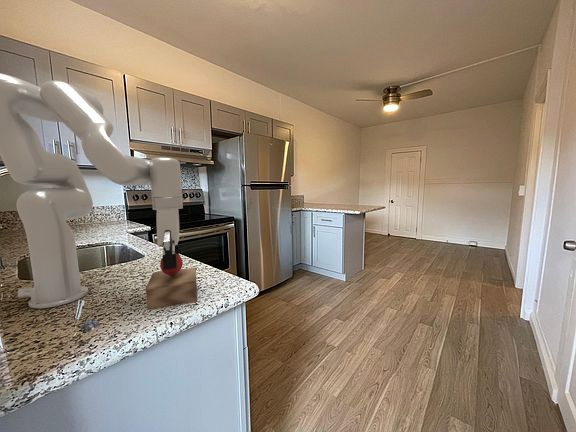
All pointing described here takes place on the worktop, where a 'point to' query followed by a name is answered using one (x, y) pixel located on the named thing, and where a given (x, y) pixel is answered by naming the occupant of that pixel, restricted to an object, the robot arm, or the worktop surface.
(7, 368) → the worktop surface
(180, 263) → the onion
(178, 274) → the walnut block
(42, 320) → the worktop surface
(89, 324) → the blueberries
